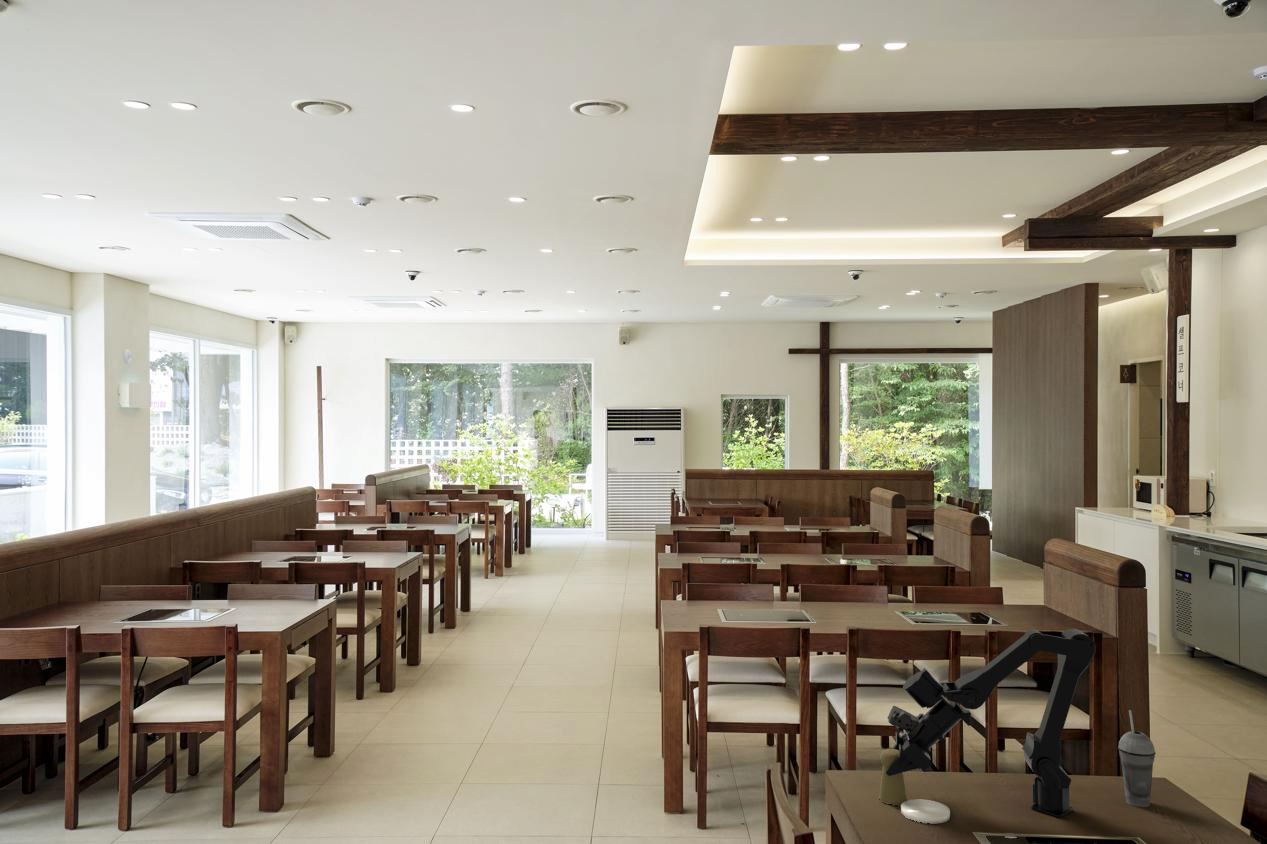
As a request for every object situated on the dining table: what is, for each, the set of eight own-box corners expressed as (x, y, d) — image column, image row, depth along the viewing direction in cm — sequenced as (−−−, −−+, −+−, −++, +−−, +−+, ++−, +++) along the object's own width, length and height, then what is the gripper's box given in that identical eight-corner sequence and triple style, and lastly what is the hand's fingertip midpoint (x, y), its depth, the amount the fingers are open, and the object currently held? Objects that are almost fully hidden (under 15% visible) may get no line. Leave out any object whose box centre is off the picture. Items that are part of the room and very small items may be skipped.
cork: (910, 805, 200) (909, 755, 200) (882, 805, 200) (881, 755, 200) (902, 794, 206) (902, 745, 206) (876, 794, 206) (875, 746, 206)
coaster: (959, 815, 194) (959, 809, 195) (932, 827, 188) (932, 822, 188) (919, 801, 202) (918, 795, 202) (891, 812, 196) (891, 807, 196)
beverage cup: (1149, 812, 195) (1147, 718, 195) (1113, 802, 200) (1111, 711, 201) (1162, 803, 200) (1160, 711, 200) (1126, 794, 205) (1124, 704, 206)
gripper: (905, 684, 212) (857, 730, 214) (914, 707, 194) (861, 757, 196) (941, 720, 210) (892, 765, 212) (953, 747, 192) (900, 796, 194)
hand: (886, 770), depth 203 cm, fingers closed on cork, 5 cm apart
